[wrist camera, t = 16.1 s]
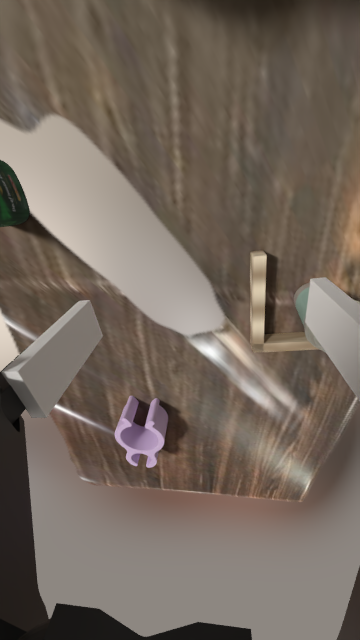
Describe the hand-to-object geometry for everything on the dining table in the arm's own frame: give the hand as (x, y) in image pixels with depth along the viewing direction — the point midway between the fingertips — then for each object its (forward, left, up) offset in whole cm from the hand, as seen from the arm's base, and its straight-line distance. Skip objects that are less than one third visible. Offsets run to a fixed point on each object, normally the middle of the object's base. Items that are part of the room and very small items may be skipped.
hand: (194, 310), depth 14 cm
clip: (+48, -21, -29) cm, 60 cm away
